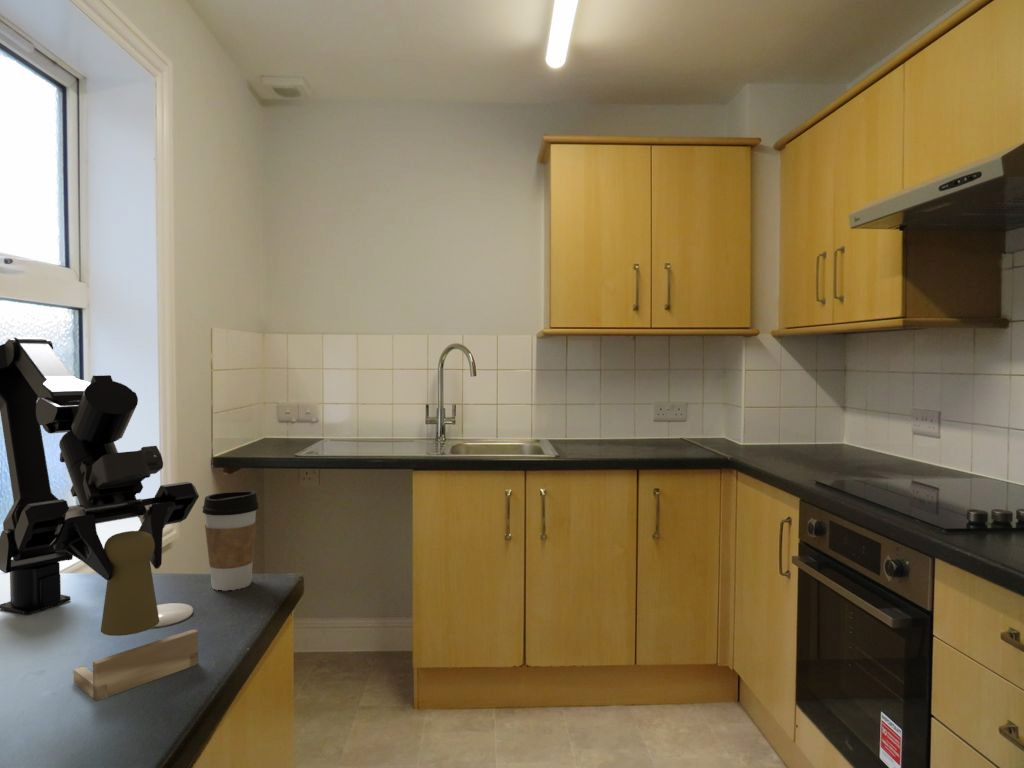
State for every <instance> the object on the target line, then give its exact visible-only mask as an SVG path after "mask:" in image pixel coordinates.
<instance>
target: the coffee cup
mask: <svg viewBox="0 0 1024 768" xmlns="http://www.w3.org/2000/svg"><path fill="white" fill-rule="evenodd" d="M258 509H259V502H258V497H257V491H254V490H251V491H249V490H248V491H247V490H246V491H243V490H242V491H228V492H227V491H226V492H225V491H224V492H219V493H212V494H208V495H206V496H205V497H204V500H203V506H202V514H205V515H204V517H205V524H204V529H205V538H206V547H207V548H206V549H207V555H208V563H209V572H210V581H211V588H212V589H213V590H214V589H215V591H218V590H222V591H221V592H228V590H232V591H236V589H238V590H240V589H241V588H242V589H244V588H247V587H248V586H250V585H251V584H252V576H253V575H252V573H253V561H254V554H255V553H254V552H255V543H256V533H257V530H256V529H257V520H256V518H257V517H256V515H257V514H256V513H257V510H258Z"/></svg>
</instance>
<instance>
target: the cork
mask: <svg viewBox="0 0 1024 768" xmlns="http://www.w3.org/2000/svg"><path fill="white" fill-rule="evenodd" d="M103 548H104V550H105V553H106V555H107V557H108V560H109V562H110V565H111V569H112V573H113V576H112V578H111V580H106V587H105V588H106V589H105V596H104V601H103V602H104V603H103V609H102V618H101V625H100V633H101V634H103V635H106V636H109V637H110V636H112V637H121V636H129V635H135V634H139V633H143V632H146V631H148V630H150V629H152V628H155V627H154V626H156V625H157V624H158V623H159V615H158V609H157V605H158V604H157V603H158V602H157V598H156V591H155V586H154V585H155V584H154V579H153V578H154V577H153V572H152V567H151V566H152V564H151V562H150V557H151V556H152V555H153V553H154V549H155V542H154V539H153V537H152V535H151V534H150V533H147V532H144V531H138V530H129V531H123V532H119V533H115V534H113V535H111V536H109V538H107V539H106V541H105V543H104V546H103Z"/></svg>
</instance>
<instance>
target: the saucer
mask: <svg viewBox="0 0 1024 768" xmlns="http://www.w3.org/2000/svg"><path fill="white" fill-rule="evenodd" d="M157 609H158V615H159V623H158V624H157V625H156V626H154V627H153V628H160V627H165V626H169V625H174V624H177V623H180V622H182V621H185V620H187V619H188V618H190V617H191V616H192V615H193V613H194V608H193V607H192V605H190V604H187V603H179V602H177V603H176V602H175V603H174V602H173V603H172V602H171V603H162V604H157Z"/></svg>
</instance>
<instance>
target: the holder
mask: <svg viewBox="0 0 1024 768" xmlns="http://www.w3.org/2000/svg"><path fill="white" fill-rule="evenodd" d="M196 665H199V630H196V629H194V628H193V629H189V630H187V631H183V632H181V633H178V634H173V635H170V636H168V637H165V638H162V639H158V640H156V641H152V642H149V643H146V644H142V645H139V646H137V647H134V648H133V647H132V648H130V649H128V650H125V651H121V652H118V653H115V654H111V655H108V656H106V657H103V658H99V659H95V660H93V661H92V671H91V670H89V669H88V668H87V667H85V666H80V667H76V668H73V684H75V685H76V686H78V687H79V688H80V689H81V690H83V692H85V693H86V694H87V695H89V696H90V697H91V698H93V699H94V700H95V701H97V702H98V701H101V700H102V699H106V698H108V697H111V696H114V695H116V694H120V693H122V692H125V691H127V690H131V689H133V688H135V687H138V686H141V685H145V684H146V683H149V682H152V681H155V680H158V679H161V678H163V677H166V676H169V675H172V674H175V673H178V672H180V671H182V670H185V669H188V668H190V667H191V668H192V667H194V666H196Z"/></svg>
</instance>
